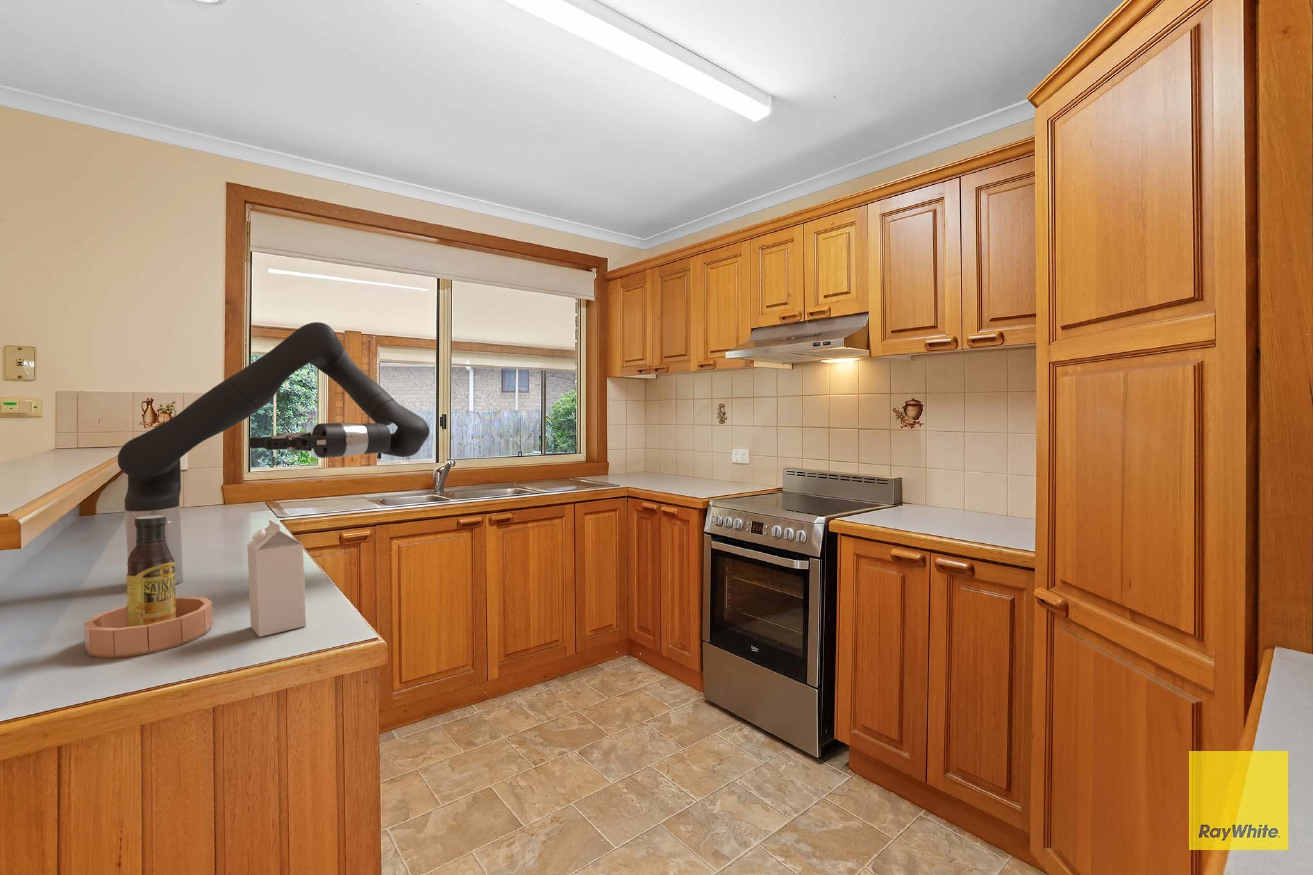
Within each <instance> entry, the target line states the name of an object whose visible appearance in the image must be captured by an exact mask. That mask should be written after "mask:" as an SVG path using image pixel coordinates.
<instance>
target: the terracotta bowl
mask: <svg viewBox="0 0 1313 875" xmlns="http://www.w3.org/2000/svg"><path fill="white" fill-rule="evenodd" d="M175 601H176V618H174V619H170V620H165V621H161V622H157V623H152V624H148V625H140V626H131V627H128V619H127V605H123V606H120V607H117V608H114V609H110V610H107V611H104V612H102V613H99V614H96V615H94V616H93V617H91V618H90V619H88V620H87V621H85V622H84V623H83V630H84V645H85V646H84V647H85V649H86V651H87V652H86V653H87V654H88V656H91V657H94V658H98V659H118V658H119V659H121V658H128V657H129V658H131V657H135V656H137V657H138V656H142V655H143V656H144V655H148V654H153V653H158V652H162V651H166V650H169V649H173V648H172V647H174V648H176V646H177V647H179V646H178V645H180V646H182V645H185V644H189V643H191V642H193V641H195V639H196V640H197V638H198V639H199V638H202V637H204V636H205V635H207V634H209V632H210V631H211V630H210V629H212V626H213V625H214V618H213V616H214V615H213V601H211V600H209V599H208V598H206V597H200V596H177V597H176V596H175ZM208 631H209V632H208ZM206 633H207V634H206ZM203 635H204V636H203ZM201 636H202V637H201ZM188 642H189V643H188Z"/></svg>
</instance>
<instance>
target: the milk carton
mask: <svg viewBox="0 0 1313 875" xmlns="http://www.w3.org/2000/svg"><path fill="white" fill-rule="evenodd" d="M268 523H269V525H267V526H266V528H262V529H259V530H257V531H256V532H254V534H253V535H252V537H251V538H252V539H251V541H249V542H248V544H247V566H248V569H247V570H248V571H247V572H248V590H249V612H250V614H249V616H250V627H251V629H252V630H253V631H254V632H255V633H256V635H257V636H258V637H259V638H260V637H265V636H269V635H274V634H279V633H283V632H286V631H290V630H291V631H292V630H295V629H299V628H304V627H306V626H307V617H306V614H307V612H306V589H305V587H306V586H305V562H304V544H303V543H302V542H300V541H299V540H297V539H295V538H293V537H292V536H290V535H288V534H287V533H285V532H283V531H281V525H280V523H278V522H276V521H275V520H273V519H271V518H270V519H268Z"/></svg>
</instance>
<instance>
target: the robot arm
mask: <svg viewBox="0 0 1313 875" xmlns="http://www.w3.org/2000/svg"><path fill="white" fill-rule="evenodd" d="M308 364H310V365H311V366H313V367H315V368H316V369H317V370H319V371H321V372H322V373H324V375H326V376H328V377H329V378H330V379H332V380H333V381H334V382H335V383H336V384H338V385H339V386H340V388H342V389H343V390H344V391H345V392H346V394H347V395H348V396H349V397H350V398H351V399H352V401H353V402H354V403H356V405H357V406H358V407H359V408H360V409H361V410H362V411H363V412H364V413H365V414H366V415H367V416H368V417H369V419H371V421H373V423H369V422H368V423H355V422H334V423H333V422H330V423H328V422H324V423H322V422H321V423H317V424H316V425H314V427H313V429H312V431H311V432H307V431H299V432H296V433H294V432H293V433H292V432H291V433H282V434H280V435H274V434H272V435H269V436H259V437H258V436H257V437H249V439H248V447H249V448H250V449H265V450H267V451H275V450H277V451H278V450H282V451H283V450H284V451H285V450H286V451H289V450H290V451H294V452H311V451H313V453H314V454H315V456H317V458H319V459H320V458H321V459H325V458H340V457H341V458H342V457H343V458H344V457H352V456H353V457H354V456H358V455H368V454H370V455H371V454H383V455H387V456H393V457H399V458H407V457H408V458H409V457H411V456H414V455H416V454H417V453H418V452H419V451H420V450H421V447H422V446H423V445H424V444H425V442H426V440H427V439H428V437H429V435H430V427H429V425H428V423H427V422H426V421H425V419H424V417H423V418H422V417H421V416H420V415H418V414H416V413H414V412H413V411H412V410H409V409H408V408H406V407H405V406H403V405H401V404H399V403H398V402H397V401H396V400H395V399H394V398H393V397H392V396H391V395H390V394H389V393H388V392H387V391H386V390H385V389H384V388H383V387H382V386H381V385H379V384H378V382H377V381H374V379H372V378H371V377H369V376H368V375H367V374H366V373H365V372H364V371H363V370H361V369H360V368H359V367H358V366H357V365H356V363H355V362H354V361H353V360H352V358H351V357H350V356H349V354H348V353H347V351H346V350H345V348H344V346H343V344H342V342H341V339H340V337H339V336H338V335H337V334H336V332H335V331H334V330H333V328H332V327H331V326H329V324H327V323H323V322H321V321H319V322H317V321H315V322H310V323H309V322H308V323H307V324H304V325H302V326H301V327H299V328H297V330H295V331H294V332H292V333H291V334H290V335H289V336H287V337H286V338H284V340H282V341H281V342H280V343H279V344H277V345H276V346H275V347H274V348H272V349H271V350H269V351H268V352H267V353H266V354H264V355H262V356H261V357H258V358H257V359H256V360H254V361H253V362H252V363H249V364H248V365H247V366H246V367H244V368H243V369H240V370H239V371H238V372H235V374H233V375H231V376H229V377H227V378H226V379H225V380H223V381H221V382H220V383H218V384H217V385H215V386H214V387H212V388H211V389H209V390H208V391H207V392H205V393H204V394H202V395H201V396H200V397H198V398H197V399H195V400H194V401H193V402H192V403H190V404H189V405H188V406H187V407H185V408H184V409H183V410H181V411H180V412H179V413H178V414H176V415H175V416H173V417H172V418H170V419H168V420H167V421H165V422H163V423H161V424H159V425H158V426H156V427H154V428H152V429H150V430H148V431H146V432H144V433H142V434H141V435H139V436H137V437H134V438H132V439H130V440H128V441H127V442H126V443H124V444H123V445H122V447H121V448H120V449H119V452H118V454H117V465H118V467H119V469H120V470H121V472H123V473H124V474H125V475H127V490H126V494H125V497H124V517H125V534H126V551H127V552H126V553H127V559H128V558H129V556H130V553H131V552H132V551H133V549H134V548H135V547H136V539H137V538H136V537H137V536H136V533H137V532H136V526H135V524H134V523H135V518H137V517H142V516H153V515H164V516H166V524H165V537H166V543H167V546H168V549H169V550H170V553H171V555H172V557H173V560H174V562H175V585H177V584H180V583H182V582H183V581H184V570H183V569H184V568H183V567H184V566H183V545H182V528H181V524H182V523H181V510H180V508H181V507H180V504H181V503H180V495H181V490H182V481H181V480H182V478H181V477H182V476H181V475H182V473H181V470H182V469H181V458H182V457H184V455H186V454H187V453H188V452H190V451H191V450H193V449H194V448H195V447H196V446H198V445H199V444H201V443H202V442H204V441H207V440H208V439H209V438H210V439H211V438H212V437H214V436H216V435H218V434H221V433H222V432H224V431H226V430H228V429H230V428H232V427H234V426H236V425H238V424H239V423H241V422H243V421H244V420H246V419H247V418H249V417H250V416H252V415H253V414H255V413H256V412H257V411H259V410H260V409H263V407H265V406H266V405H267V404H268V403H269V402H270V401H271V400H272V399H273V398H274V397H275V395H276V394H277V393H278V391H279V390H280V388H281V387H282V385H283V384H284V383H285V382H286V381H287V380H288V378H290V376H291V375H293V374H294V373H296V372H297V371H298V370H300V369H302V368H303V367H304V366H306V365H308ZM392 424H394V425H395V426H396V427H397V428H396V429H395V431H394V433H391V431H390V429H389V426H390V425H392Z"/></svg>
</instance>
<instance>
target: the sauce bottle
mask: <svg viewBox="0 0 1313 875" xmlns="http://www.w3.org/2000/svg"><path fill="white" fill-rule="evenodd" d="M134 524H135V526H136V532H137V533H136V536H137V537H136V538H137V539H136V547H135V548H134V549H133V551H132V552H131V553H130V556H129V558H128V557H127V573H126V596H127V597H126V598H127V599H126V600H127V601H126V606H127V619H128V627H131V626H140V625H148V624H152V623H157V622H161V621H165V620H170V619H174V618H176V601H175V598H176V584H175V562H174V560H173V557H172V555H171V553H170V550H169V549H168V546H167V543H166V537H165V524H166V516H164V515H153V516H142V517H137V518H135V523H134Z"/></svg>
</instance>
